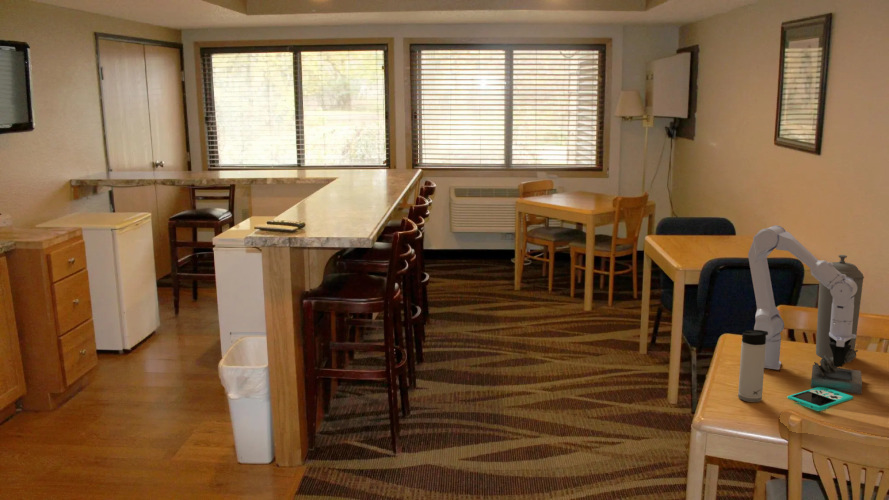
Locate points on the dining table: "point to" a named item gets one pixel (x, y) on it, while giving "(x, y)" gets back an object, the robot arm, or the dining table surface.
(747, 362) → the travel mug
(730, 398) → the dining table surface
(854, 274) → the canister
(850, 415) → the dining table surface
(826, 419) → the dining table surface
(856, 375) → the square socket
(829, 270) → the robot arm
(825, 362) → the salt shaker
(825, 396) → the handheld game console
